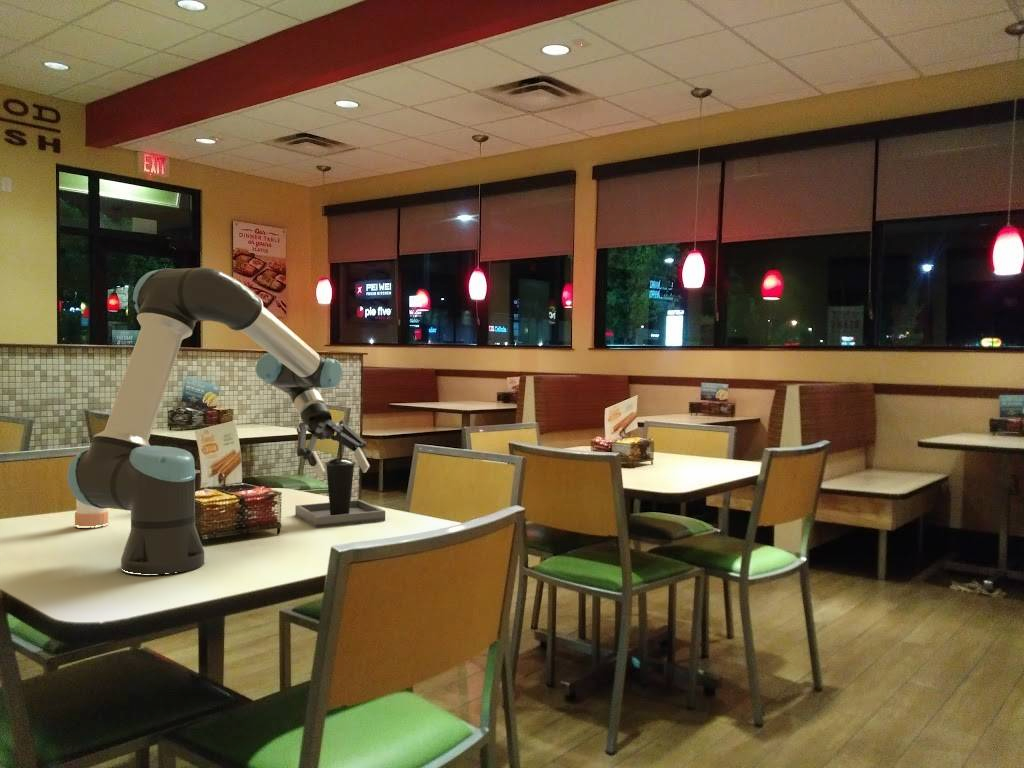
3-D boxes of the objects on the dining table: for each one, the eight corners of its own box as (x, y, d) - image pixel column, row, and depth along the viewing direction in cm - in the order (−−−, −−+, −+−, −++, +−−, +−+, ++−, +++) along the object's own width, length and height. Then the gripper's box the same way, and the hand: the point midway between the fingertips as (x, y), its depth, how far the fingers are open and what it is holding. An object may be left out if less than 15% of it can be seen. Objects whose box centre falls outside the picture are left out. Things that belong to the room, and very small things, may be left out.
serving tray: (316, 527, 192) (316, 517, 192) (295, 514, 207) (295, 505, 207) (385, 520, 201) (385, 510, 201) (360, 508, 217) (360, 499, 217)
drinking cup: (351, 517, 201) (351, 439, 200) (321, 517, 201) (322, 439, 200) (357, 511, 208) (358, 436, 207) (329, 511, 208) (329, 436, 208)
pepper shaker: (68, 526, 190) (68, 448, 190) (98, 521, 197) (98, 445, 196) (84, 530, 186) (84, 450, 186) (114, 525, 193) (114, 447, 192)
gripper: (346, 417, 223) (378, 476, 213) (265, 422, 205) (296, 486, 195) (357, 399, 219) (390, 458, 209) (276, 403, 201) (308, 467, 191)
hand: (345, 472), depth 202 cm, fingers open, 13 cm apart
